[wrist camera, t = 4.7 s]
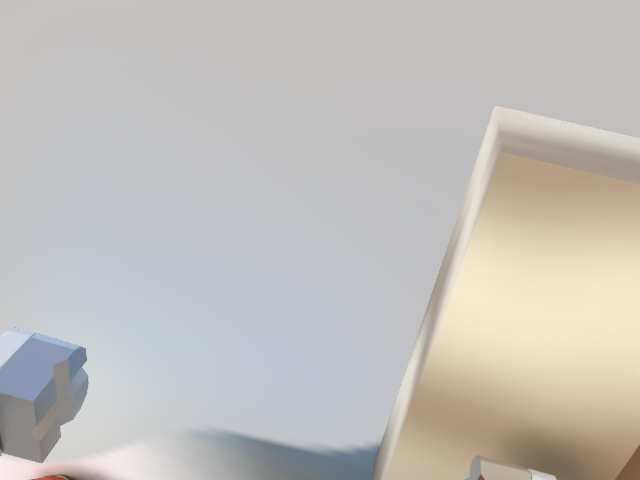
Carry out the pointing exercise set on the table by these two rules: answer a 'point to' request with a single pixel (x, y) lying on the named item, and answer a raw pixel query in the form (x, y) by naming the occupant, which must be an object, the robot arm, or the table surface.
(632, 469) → the walnut block
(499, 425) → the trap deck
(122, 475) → the table surface
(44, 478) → the onion
